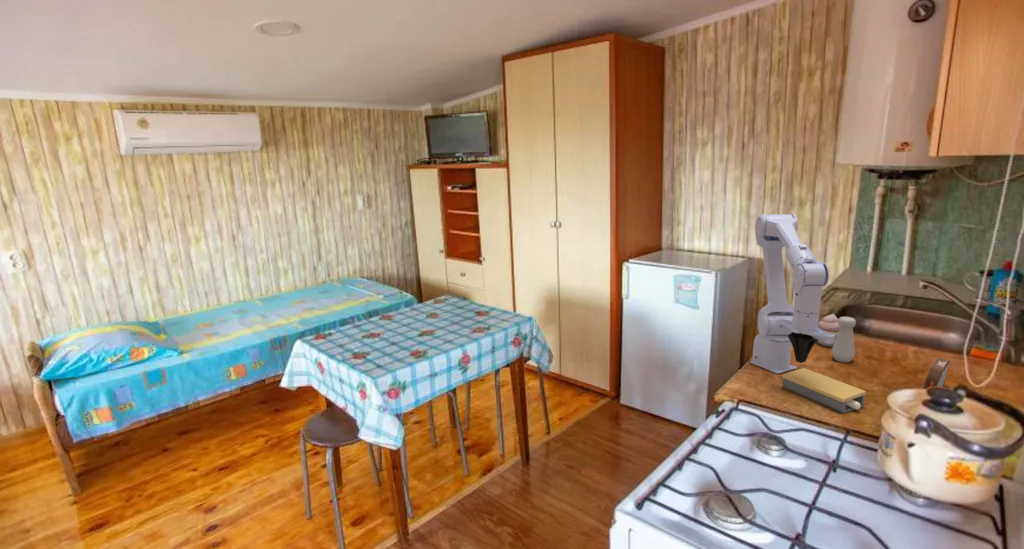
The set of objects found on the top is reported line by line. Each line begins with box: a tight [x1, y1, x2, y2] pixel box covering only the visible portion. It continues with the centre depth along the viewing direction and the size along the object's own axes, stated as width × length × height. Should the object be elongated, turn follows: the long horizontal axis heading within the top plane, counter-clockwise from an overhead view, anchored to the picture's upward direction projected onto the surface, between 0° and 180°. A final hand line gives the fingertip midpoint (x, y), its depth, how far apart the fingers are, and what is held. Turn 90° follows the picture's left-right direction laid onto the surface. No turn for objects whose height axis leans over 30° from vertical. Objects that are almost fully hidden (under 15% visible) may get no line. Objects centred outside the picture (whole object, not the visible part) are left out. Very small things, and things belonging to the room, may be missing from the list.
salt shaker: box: [831, 316, 857, 364], centre depth 152 cm, size 6×6×13 cm
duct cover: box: [782, 367, 867, 402], centre depth 130 cm, size 16×8×1 cm, turn 26°
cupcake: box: [817, 313, 840, 348], centre depth 164 cm, size 9×9×10 cm
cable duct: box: [781, 378, 866, 414], centre depth 131 cm, size 18×8×3 cm, turn 26°
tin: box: [922, 356, 951, 390], centre depth 131 cm, size 15×3×8 cm, turn 133°
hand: (800, 361), depth 133 cm, fingers closed
